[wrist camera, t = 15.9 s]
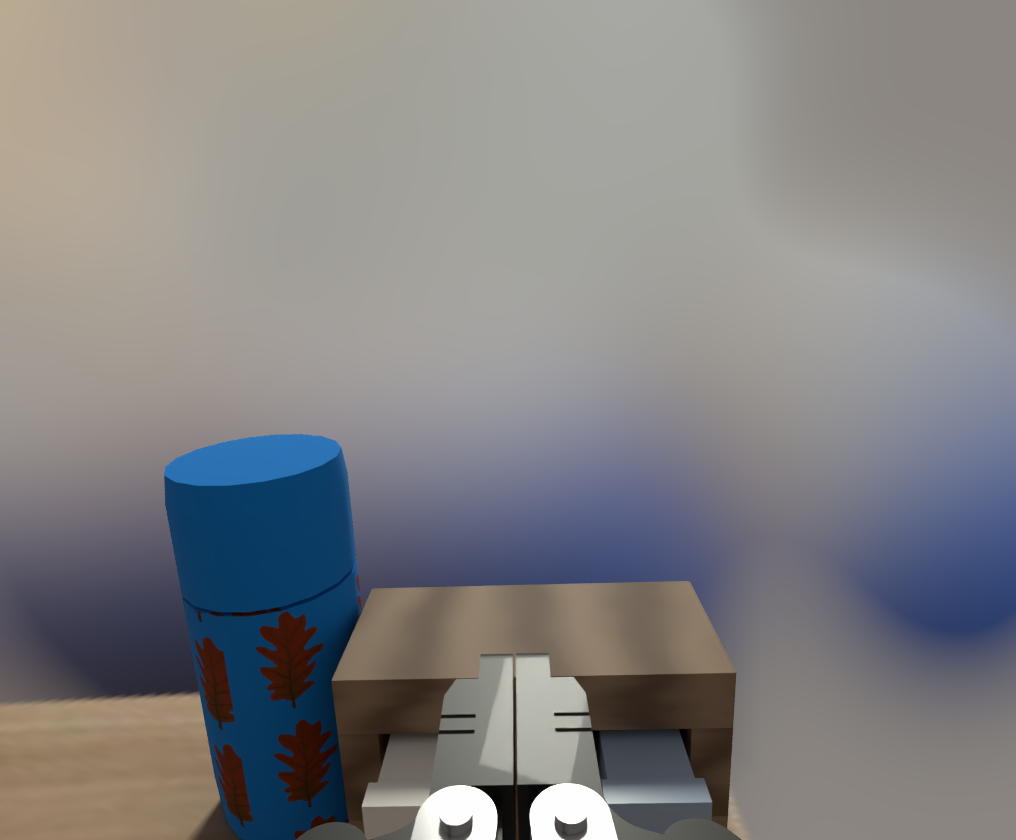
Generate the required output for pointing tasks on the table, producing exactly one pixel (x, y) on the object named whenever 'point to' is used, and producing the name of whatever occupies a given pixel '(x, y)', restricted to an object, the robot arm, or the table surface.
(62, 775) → the table surface
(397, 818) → the key white
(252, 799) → the thermos
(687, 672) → the housing
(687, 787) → the key blue
